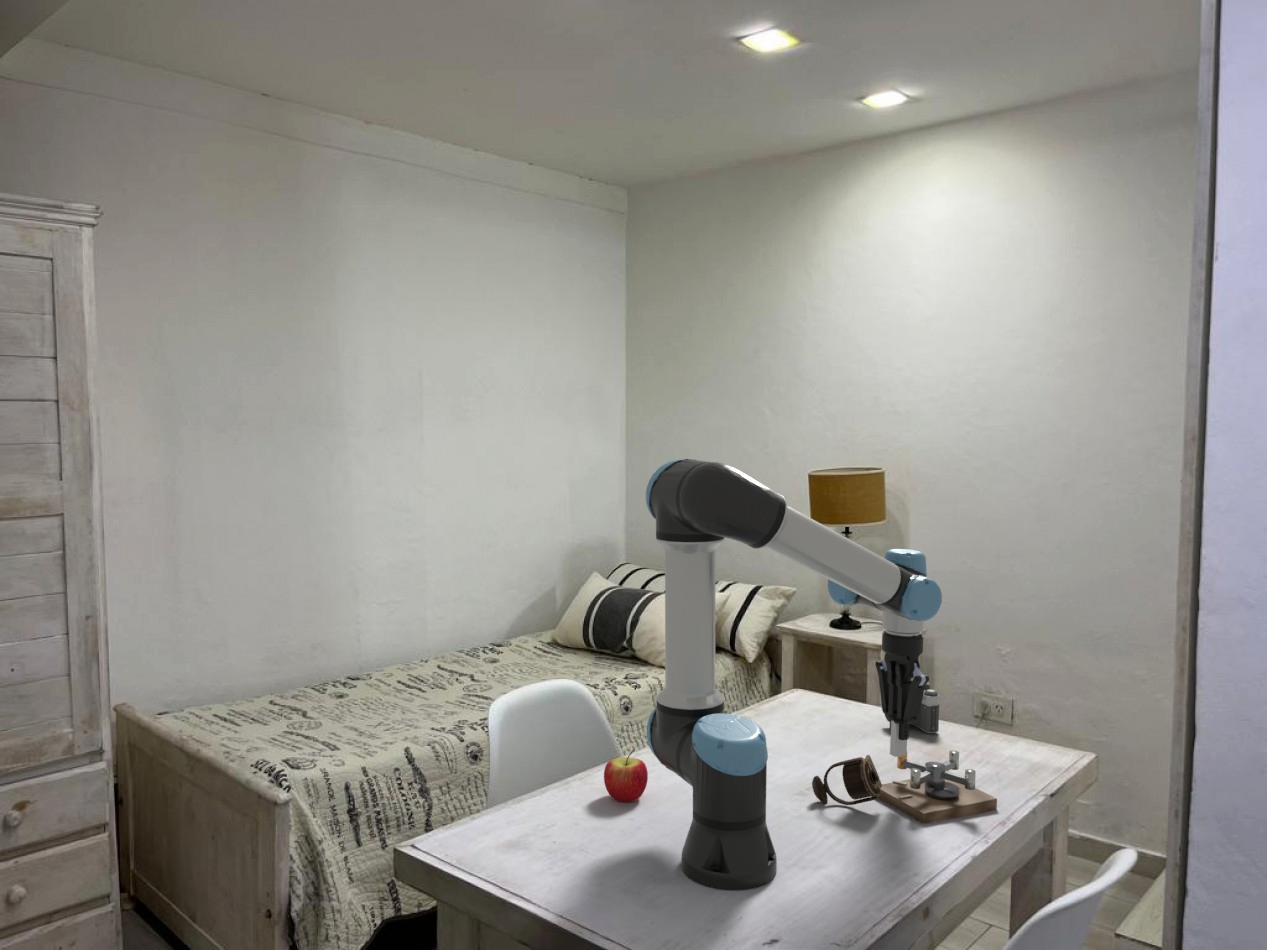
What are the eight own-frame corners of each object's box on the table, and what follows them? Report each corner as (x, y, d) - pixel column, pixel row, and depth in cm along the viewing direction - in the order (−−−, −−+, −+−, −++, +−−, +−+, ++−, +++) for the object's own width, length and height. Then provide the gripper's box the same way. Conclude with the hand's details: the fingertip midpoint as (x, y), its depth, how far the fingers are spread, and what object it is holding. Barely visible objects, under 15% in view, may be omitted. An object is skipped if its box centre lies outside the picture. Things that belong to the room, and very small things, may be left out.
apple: (639, 811, 178) (640, 758, 178) (596, 805, 181) (596, 752, 181) (653, 794, 186) (653, 743, 186) (612, 789, 189) (612, 738, 188)
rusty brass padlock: (883, 820, 175) (884, 765, 174) (811, 814, 177) (811, 760, 177) (881, 804, 182) (882, 751, 181) (811, 798, 184) (812, 747, 184)
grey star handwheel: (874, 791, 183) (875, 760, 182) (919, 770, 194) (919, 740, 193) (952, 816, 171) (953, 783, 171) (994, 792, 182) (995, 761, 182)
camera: (870, 715, 236) (871, 674, 235) (908, 711, 238) (908, 671, 238) (903, 735, 221) (904, 692, 220) (943, 732, 223) (944, 689, 222)
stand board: (923, 824, 173) (923, 811, 173) (873, 795, 186) (873, 783, 186) (996, 809, 180) (997, 797, 179) (943, 782, 193) (944, 770, 192)
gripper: (942, 637, 178) (937, 763, 180) (896, 623, 190) (892, 741, 192) (909, 640, 175) (904, 768, 177) (865, 626, 187) (860, 746, 189)
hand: (898, 754), depth 184 cm, fingers closed
